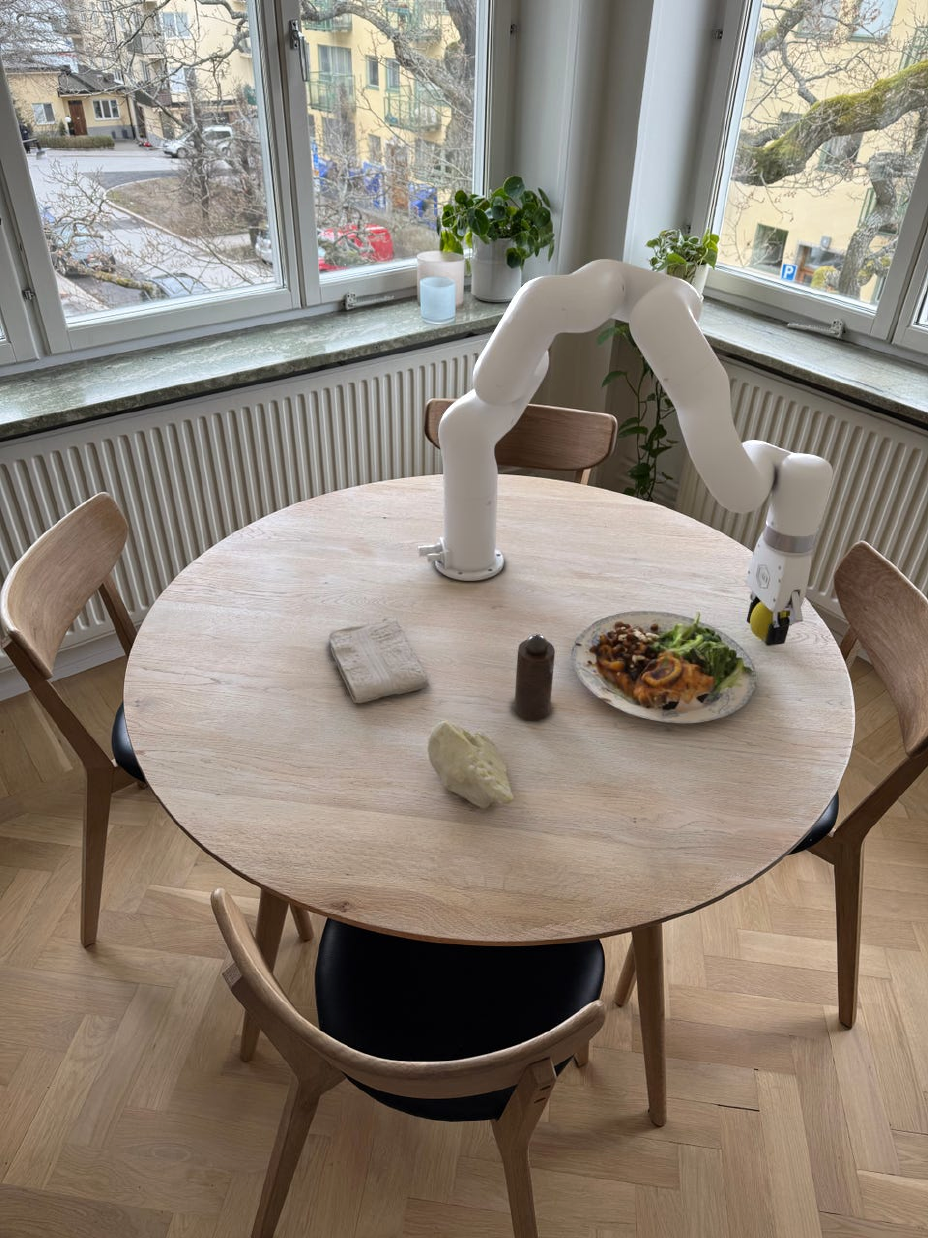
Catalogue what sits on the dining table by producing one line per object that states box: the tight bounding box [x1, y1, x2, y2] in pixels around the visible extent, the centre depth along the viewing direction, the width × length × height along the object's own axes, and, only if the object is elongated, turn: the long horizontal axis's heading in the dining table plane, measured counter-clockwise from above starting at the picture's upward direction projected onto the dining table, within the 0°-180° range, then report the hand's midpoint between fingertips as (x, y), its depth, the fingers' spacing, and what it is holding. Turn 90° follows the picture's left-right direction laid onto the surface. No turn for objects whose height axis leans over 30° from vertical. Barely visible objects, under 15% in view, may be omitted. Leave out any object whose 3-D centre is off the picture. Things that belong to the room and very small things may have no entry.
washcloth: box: [328, 618, 430, 704], centre depth 140 cm, size 12×18×3 cm, turn 22°
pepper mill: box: [514, 633, 556, 722], centre depth 129 cm, size 5×5×13 cm
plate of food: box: [571, 610, 758, 724], centre depth 138 cm, size 28×28×6 cm
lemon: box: [749, 601, 786, 642], centre depth 145 cm, size 6×6×8 cm
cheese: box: [427, 719, 515, 810], centre depth 117 cm, size 15×7×15 cm
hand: (765, 631), depth 147 cm, fingers closed on lemon, 5 cm apart
